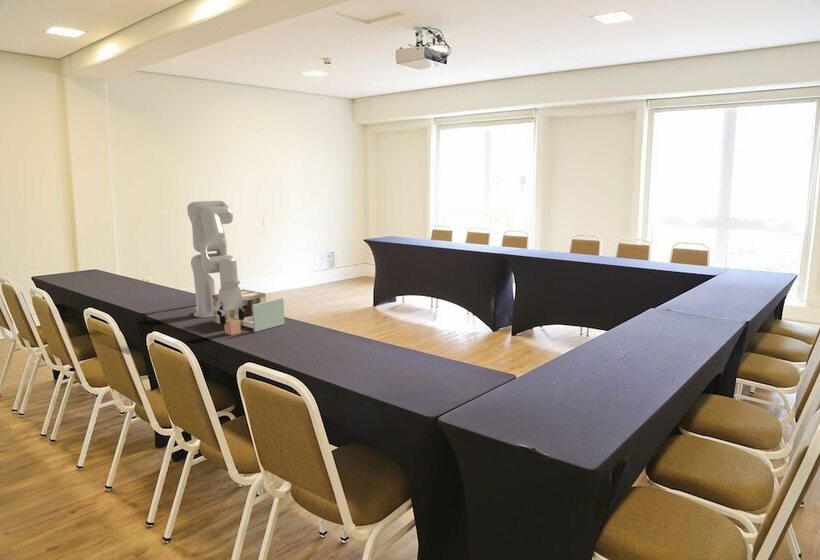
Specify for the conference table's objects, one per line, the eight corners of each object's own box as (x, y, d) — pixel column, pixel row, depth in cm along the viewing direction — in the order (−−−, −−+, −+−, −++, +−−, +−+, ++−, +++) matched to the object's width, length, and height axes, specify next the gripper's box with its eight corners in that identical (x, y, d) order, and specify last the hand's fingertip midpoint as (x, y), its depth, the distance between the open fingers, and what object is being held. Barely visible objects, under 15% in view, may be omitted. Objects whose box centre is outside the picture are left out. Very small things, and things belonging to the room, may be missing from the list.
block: (224, 333, 262) (223, 320, 261) (234, 331, 266) (233, 318, 265) (231, 335, 259) (230, 322, 258) (240, 332, 263) (239, 320, 262)
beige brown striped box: (214, 322, 282) (212, 295, 279) (245, 314, 296) (243, 289, 293) (236, 328, 271) (234, 300, 268) (267, 320, 285) (265, 293, 282)
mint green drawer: (232, 326, 273) (230, 300, 271) (261, 318, 286) (260, 294, 284) (255, 331, 263) (253, 305, 260) (284, 323, 276) (283, 298, 273)
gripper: (240, 281, 267) (243, 317, 270) (207, 287, 254) (210, 325, 257) (250, 282, 263) (253, 319, 265) (217, 288, 249) (220, 327, 252)
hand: (232, 322), depth 261 cm, fingers open, 9 cm apart
